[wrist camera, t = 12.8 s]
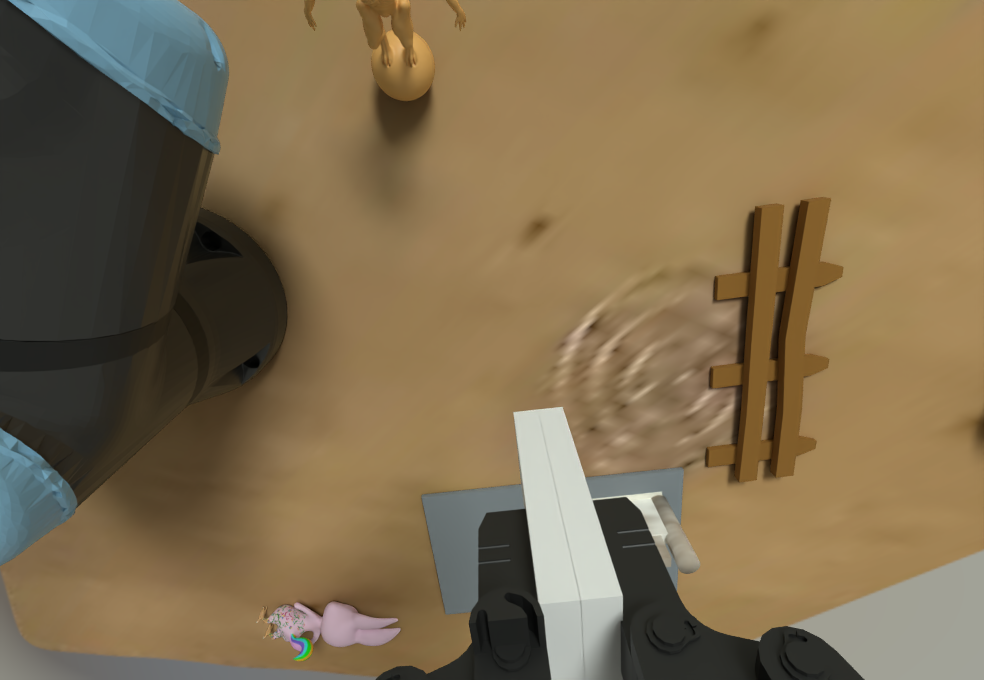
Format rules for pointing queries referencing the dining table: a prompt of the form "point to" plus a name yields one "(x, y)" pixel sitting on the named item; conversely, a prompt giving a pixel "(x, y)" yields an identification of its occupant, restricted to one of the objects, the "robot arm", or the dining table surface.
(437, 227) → the dining table surface
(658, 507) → the white fence section
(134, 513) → the dining table surface
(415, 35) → the figurine
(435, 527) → the board
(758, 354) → the decorative fence
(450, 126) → the dining table surface
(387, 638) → the rabbit figure
